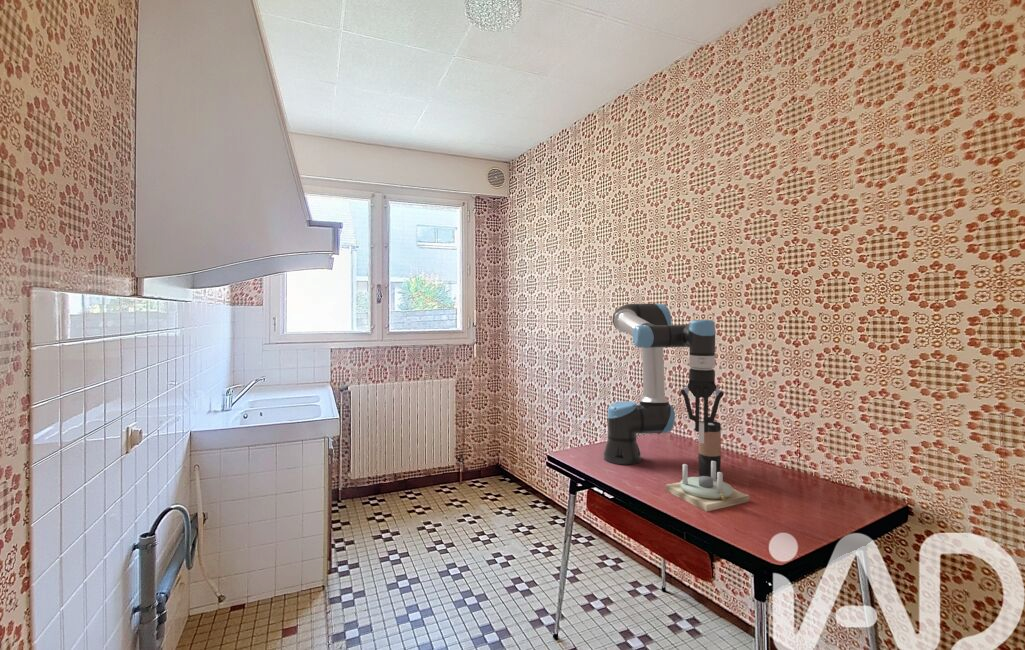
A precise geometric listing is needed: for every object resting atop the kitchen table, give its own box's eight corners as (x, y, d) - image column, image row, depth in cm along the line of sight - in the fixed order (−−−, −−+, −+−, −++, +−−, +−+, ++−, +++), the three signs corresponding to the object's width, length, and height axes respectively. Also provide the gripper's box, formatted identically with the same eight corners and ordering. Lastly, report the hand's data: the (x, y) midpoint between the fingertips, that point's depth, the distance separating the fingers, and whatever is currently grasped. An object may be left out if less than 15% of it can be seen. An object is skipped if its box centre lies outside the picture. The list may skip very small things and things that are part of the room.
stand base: (665, 490, 156) (665, 481, 156) (705, 482, 163) (705, 473, 163) (707, 511, 140) (707, 501, 139) (749, 501, 146) (749, 492, 146)
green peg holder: (701, 501, 142) (701, 477, 141) (670, 483, 157) (670, 461, 157) (744, 495, 146) (744, 471, 146) (709, 478, 161) (709, 456, 161)
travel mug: (723, 480, 165) (723, 425, 164) (700, 479, 166) (700, 424, 166) (718, 473, 172) (718, 420, 172) (696, 472, 174) (696, 420, 173)
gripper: (679, 369, 144) (679, 443, 145) (725, 370, 139) (724, 447, 140) (680, 366, 151) (680, 436, 152) (724, 367, 146) (723, 440, 147)
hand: (701, 442), depth 146 cm, fingers closed
